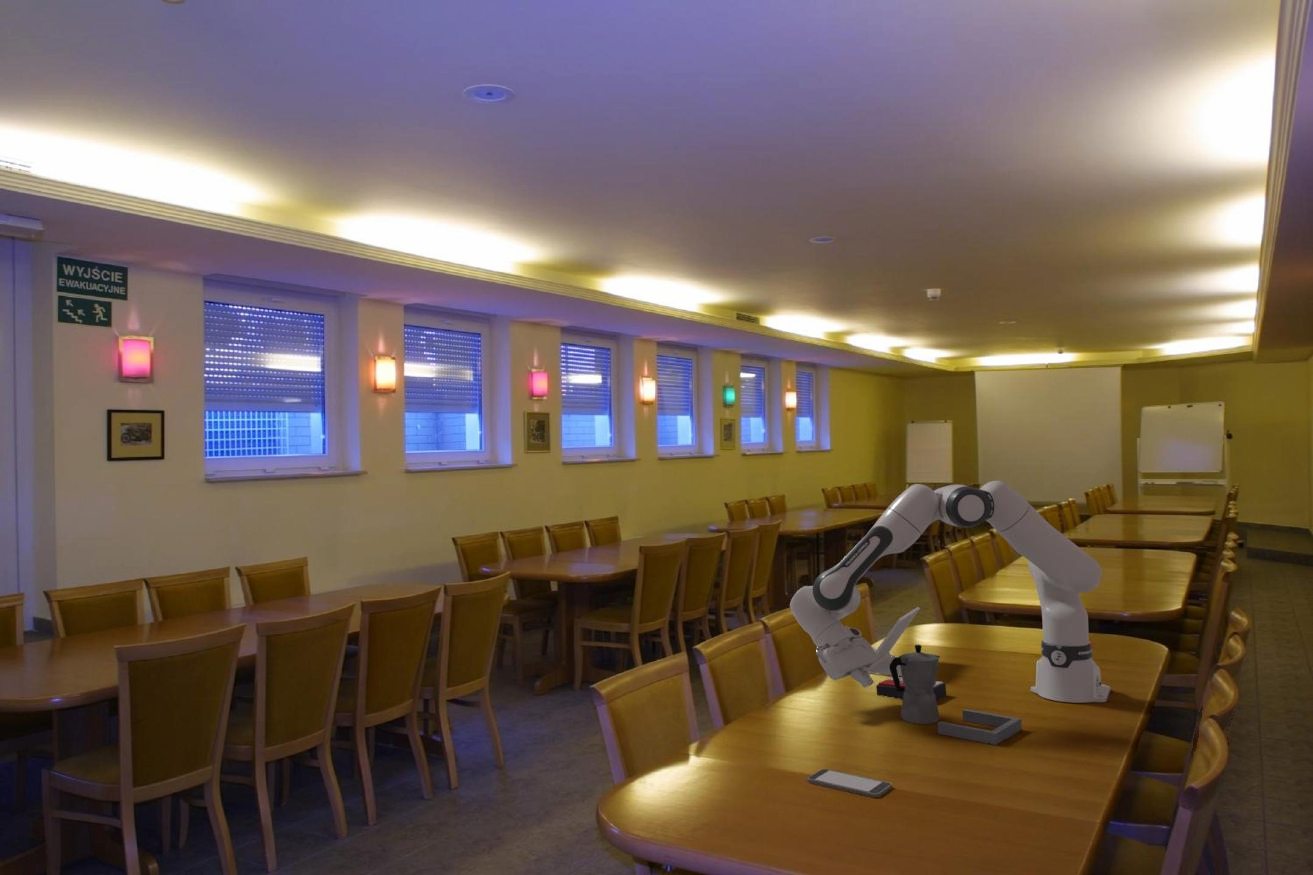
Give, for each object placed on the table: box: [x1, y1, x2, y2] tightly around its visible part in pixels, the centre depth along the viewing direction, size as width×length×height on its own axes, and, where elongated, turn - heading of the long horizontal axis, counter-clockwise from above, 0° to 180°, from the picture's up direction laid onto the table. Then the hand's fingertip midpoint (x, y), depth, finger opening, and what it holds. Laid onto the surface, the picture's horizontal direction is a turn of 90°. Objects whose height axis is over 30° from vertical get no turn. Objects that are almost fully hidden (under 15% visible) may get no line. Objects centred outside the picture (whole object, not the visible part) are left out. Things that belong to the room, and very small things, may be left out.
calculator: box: [875, 677, 947, 701], centre depth 242 cm, size 11×4×15 cm
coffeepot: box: [889, 644, 941, 725], centre depth 220 cm, size 15×9×18 cm, turn 116°
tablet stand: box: [868, 606, 921, 676], centre depth 277 cm, size 18×25×17 cm
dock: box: [937, 708, 1023, 746], centre depth 209 cm, size 15×14×2 cm
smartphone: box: [807, 768, 893, 798], centre depth 176 cm, size 7×1×15 cm
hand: (869, 685), depth 228 cm, fingers closed
